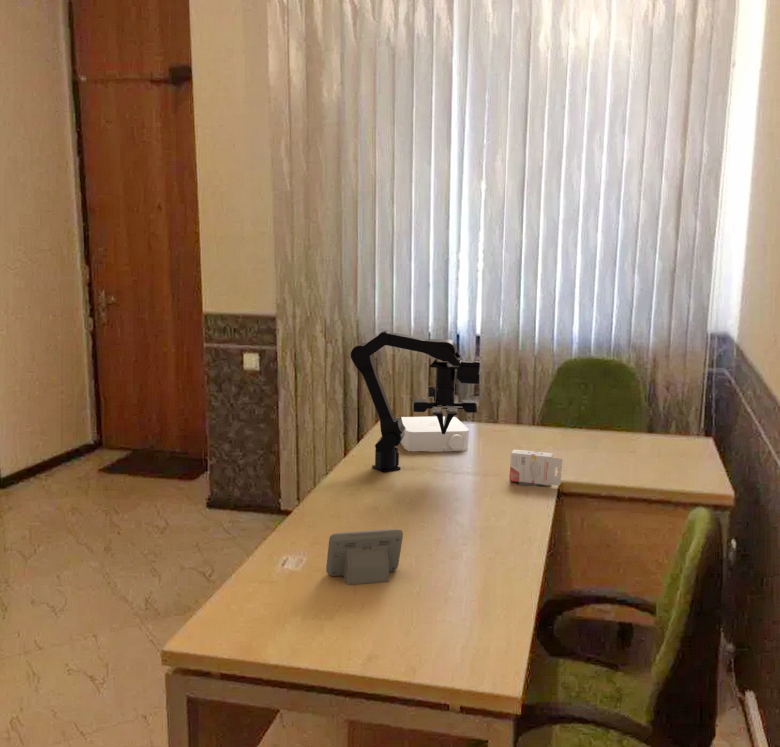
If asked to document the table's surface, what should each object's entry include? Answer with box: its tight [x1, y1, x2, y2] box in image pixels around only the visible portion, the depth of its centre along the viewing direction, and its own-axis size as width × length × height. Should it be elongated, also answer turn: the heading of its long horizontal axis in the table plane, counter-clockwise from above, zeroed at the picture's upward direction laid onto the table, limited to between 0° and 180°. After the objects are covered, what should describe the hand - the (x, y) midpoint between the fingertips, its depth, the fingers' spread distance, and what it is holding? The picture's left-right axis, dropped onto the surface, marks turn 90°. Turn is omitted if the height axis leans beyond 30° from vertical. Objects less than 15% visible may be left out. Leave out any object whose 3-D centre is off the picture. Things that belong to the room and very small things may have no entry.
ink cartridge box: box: [508, 449, 563, 486], centre depth 256 cm, size 9×5×15 cm
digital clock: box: [325, 528, 404, 586], centre depth 188 cm, size 16×9×11 cm, turn 93°
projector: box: [400, 415, 470, 453], centre depth 297 cm, size 21×22×7 cm
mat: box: [517, 482, 542, 486], centre depth 260 cm, size 8×12×1 cm, turn 3°
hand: (443, 433), depth 262 cm, fingers closed
